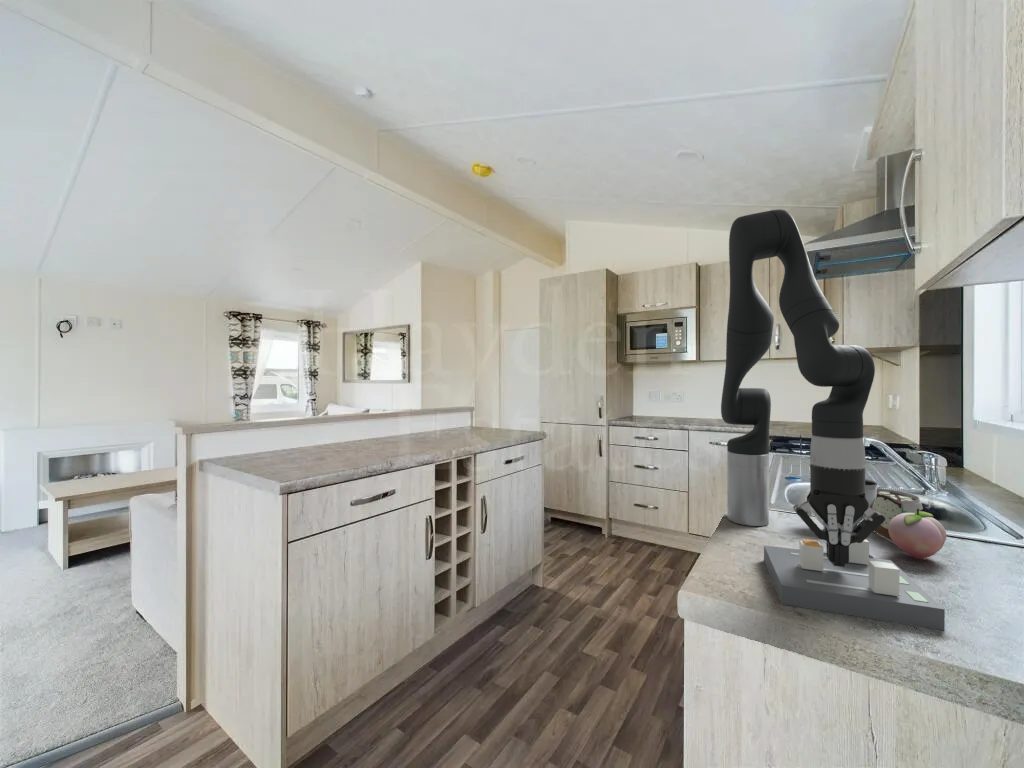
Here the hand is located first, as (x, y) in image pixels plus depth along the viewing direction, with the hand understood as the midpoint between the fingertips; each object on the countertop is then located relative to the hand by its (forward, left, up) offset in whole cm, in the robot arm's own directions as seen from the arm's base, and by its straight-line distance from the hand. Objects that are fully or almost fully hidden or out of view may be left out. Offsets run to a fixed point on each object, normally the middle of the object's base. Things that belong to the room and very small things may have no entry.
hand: (837, 564), depth 75 cm
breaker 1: (-6, +4, -1) cm, 7 cm away
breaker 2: (+6, +4, -1) cm, 8 cm away
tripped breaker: (0, -4, -1) cm, 4 cm away
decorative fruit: (-21, +18, -4) cm, 28 cm away
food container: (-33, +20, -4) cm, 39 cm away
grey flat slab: (0, 0, -4) cm, 4 cm away
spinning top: (-34, +6, -4) cm, 35 cm away
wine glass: (-19, +7, -4) cm, 21 cm away
